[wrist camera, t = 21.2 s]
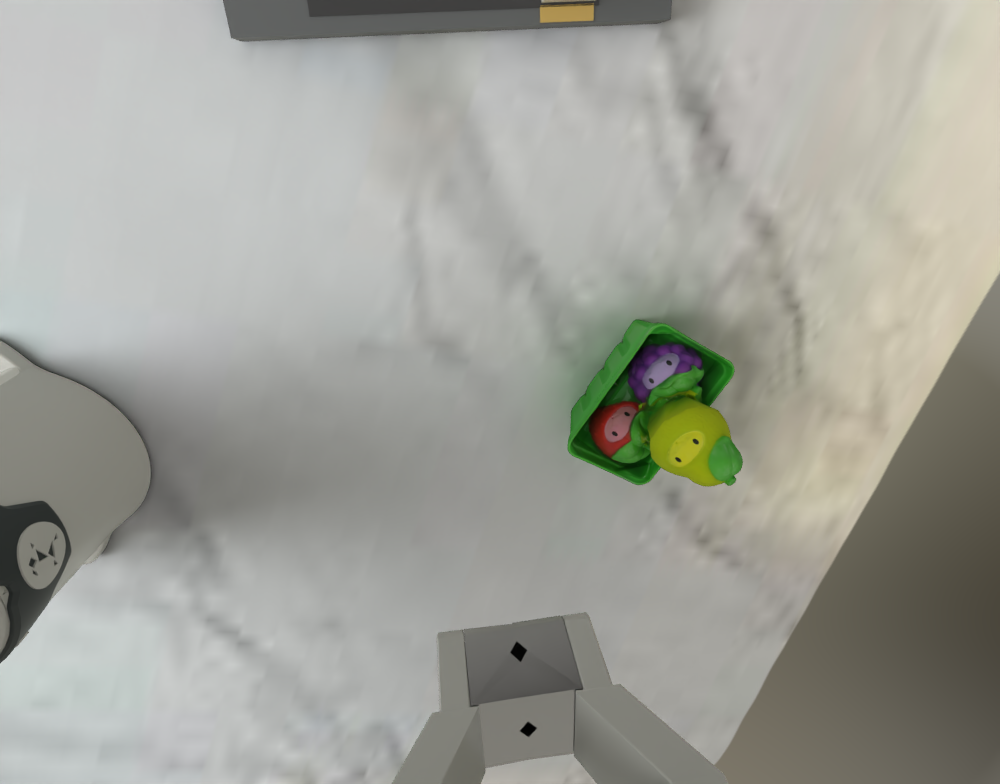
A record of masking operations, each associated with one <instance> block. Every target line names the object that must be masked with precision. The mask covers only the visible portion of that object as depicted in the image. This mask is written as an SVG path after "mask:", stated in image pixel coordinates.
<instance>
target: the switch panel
mask: <svg viewBox="0 0 1000 784" xmlns="http://www.w3.org/2000/svg"><path fill="white" fill-rule="evenodd" d="M223 3H224V7H225V11H226V16H227V20H228V25H229V29H230V34H231V38H233V39H236V40H239V41H261V40H285V39H308V38H331V37H355V36H378V35H401V34H425V33H448V32H471V31H495V30H518V29H542V28H565V27H588V26H612V25H635V24H657V23H661V22H664V21H667V20H670V19H671V6H672V0H596V1H574V2H548V3H541V0H223Z"/></svg>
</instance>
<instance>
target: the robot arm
mask: <svg viewBox="0 0 1000 784" xmlns="http://www.w3.org/2000/svg"><path fill="white" fill-rule="evenodd" d="M150 479H151V467H150V460H149V456H148V453H147V450H146V447H145V445H144V443H143V441H142V439H141V437H140V435H139V434H138V432H137V431H136V429H135V428H134V427H133V425H132V424H131V423H130V422H129V420H128V419H127V418H126V417H125V416H124V415H123V414H122V413H121V412H120V411H119V410H118V409H117V408H116V407H115V406H113V405H112V404H111V403H110V402H108V401H107V400H106V399H104V398H103V397H101V396H100V395H98V394H97V393H95V392H94V391H92V390H90V389H88V388H87V387H85V386H83V385H81V384H79V383H76V382H74V381H72V380H69V379H67V378H64V377H62V376H59V375H56V374H54V373H51V372H48V371H46V370H44V369H42V368H40V367H38V366H36V365H34V364H33V363H31V362H30V361H29V360H28V359H26V358H25V357H24V356H22V355H21V354H20V353H18V352H17V351H16V350H14V349H13V348H11V347H10V346H9V345H7V344H5V343H4V342H2V341H0V663H1V662H2V661H3V660H5V659H6V658H7V656H8V655H9V654H10V653H11V652H12V651H13V649H14V648H15V647H16V646H18V645H19V644H20V642H21V641H22V640H23V639H24V638H25V636H26V635H27V634H28V633H29V632H28V630H29V629H30V628H31V627H32V625H33V624H34V622H35V621H36V620H37V618H38V617H39V616H40V614H41V613H42V612H43V610H44V609H45V607H46V606H47V605H48V603H49V601H50V600H51V599H52V598H53V597H54V596H55V595H56V594H57V593H58V591H59V590H60V589H61V588H62V587H63V586H64V585H65V584H66V583H67V582H68V581H69V579H70V578H71V577H72V576H73V575H74V574H75V573H76V572H77V571H78V569H79V568H80V567H81V566H82V565H83V564H89V563H92V562H93V561H95V560H96V559H97V558H98V557H99V555H100V554H101V553H102V552H103V551H104V549H105V548H106V546H107V544H108V541H109V539H110V536H111V533H112V532H113V531H114V530H115V529H116V528H117V527H118V526H119V525H120V524H122V523H123V522H124V521H125V520H126V519H127V518H129V517H130V516H131V515H132V514H133V513H134V512H135V511H136V510H137V509H138V508H139V506H140V505H141V504H142V502H143V500H144V499H145V497H146V494H147V492H148V489H149V485H150ZM464 640H465V642H464ZM437 657H438V682H439V706H440V712H435V713H432V714H431V716H430V717H429V719H428V721H427V723H426V724H425V726H424V728H423V730H422V731H421V733H420V735H419V737H418V739H417V740H416V742H415V744H414V746H413V747H412V749H411V751H410V753H409V754H408V756H407V758H406V760H405V761H404V763H403V765H402V767H401V768H400V770H399V772H398V774H397V775H396V777H395V779H394V781H393V782H392V784H481V782H482V779H483V776H484V774H485V768H488V767H493V766H498V765H503V764H508V763H514V762H519V761H524V760H529V759H536V758H544V757H551V756H559V755H566V754H574V756H575V758H576V759H577V760H578V761H579V762H580V764H581V765H582V766H583V767H584V768H585V770H586V771H587V772H588V773H589V774H590V776H591V777H592V778H593V779H594V780H595V782H596V783H597V784H728V782H727V779H726V777H725V775H724V774H723V773H722V772H721V771H720V770H719V769H718V768H716V767H715V766H714V765H713V764H712V763H711V762H709V761H708V760H707V759H706V758H705V757H704V756H703V755H701V754H700V753H699V752H698V751H697V750H696V749H694V748H693V747H692V746H691V745H690V744H689V743H688V742H686V741H685V740H684V739H683V738H682V737H681V736H679V735H678V734H677V733H676V732H675V731H674V730H672V729H671V728H670V727H669V726H668V725H667V724H666V723H664V722H663V721H662V720H661V719H660V718H659V717H657V716H656V715H655V714H654V713H653V712H652V711H651V710H649V709H648V708H647V707H646V706H645V705H644V704H642V703H641V702H640V701H639V700H638V699H637V698H636V697H634V696H633V695H632V694H631V693H630V692H629V691H627V690H626V689H625V688H624V687H623V686H622V685H621V684H617V685H612V682H611V679H610V676H609V673H608V670H607V667H606V664H605V661H604V658H603V655H602V652H601V650H600V647H599V644H598V641H597V638H596V635H595V632H594V629H593V626H592V623H591V620H590V617H589V616H588V614H587V613H586V612H585V613H578V614H571V615H564V616H554V617H547V618H541V619H534V620H528V621H521V622H515V623H512V624H507V625H498V626H489V627H480V628H471V629H464V633H463V630H456V631H448V632H440V633H438V635H437Z"/></svg>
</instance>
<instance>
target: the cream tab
mask: <svg viewBox="0 0 1000 784" xmlns="http://www.w3.org/2000/svg"><path fill="white" fill-rule="evenodd" d="M574 1H596V0H541V3H548V2H574Z"/></svg>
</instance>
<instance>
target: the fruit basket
mask: <svg viewBox="0 0 1000 784" xmlns="http://www.w3.org/2000/svg"><path fill="white" fill-rule="evenodd" d="M733 374H734V366H733V364H732V363H731V362H730V361H729V360H727V359H725V358H723V357H721V356H720V355H718V354H716V353H715V352H713V351H711V350H709V349H708V348H706V347H704V346H702V345H701V344H699V343H697V342H696V341H694V340H692V339H691V338H689V337H687V336H685V335H684V334H682V333H681V332H679V331H677V330H676V329H674V328H672V327H671V326H669V325H667V324H663V323H650V322H645V321H641V320H635V321H633V323H632V324H631V326H630V327H629V328H628V330H627V331H626V333H625V334H624V337H623V341H622V342H621V343H619V344H618V345H617V346H616V347H615V349H614V350H613V351H612V353H611V354H610V356H609V357H608V359H607V360H606V362H605V365H604V369H601V370H600V371H599V372H598V373H597V374H596V376H595V377H594V379H593V380H592V382H591V383H590V384H589V386H588V388H587V391H586V394H584V395H583V396H582V397H581V398H580V399H579V400H578V402H577V403H576V404H575V406H574V407H573V409H572V411H571V431H570V436H569V440H568V451H569V453H570V454H571V455H572V456H574V457H576V458H579V459H581V460H584V461H586V462H588V463H590V464H593V465H595V466H597V467H599V468H601V469H604V470H606V471H608V472H610V473H612V474H614V475H616V476H618V477H621V478H623V479H625V480H627V481H629V482H631V483H633V484H636V485H643V484H646V483H648V482H649V481H651V479H652V478H653V477H654V475H655V474H656V473H657V472H658V470H659V469H660V468H663V469H664V470H666V471H668V472H670V473H673V474H675V475H679V476H683V477H687V478H689V479H690V480H692V481H693V482H695V483H697V484H699V485H702V486H715V485H719V484H722V483H726V484H727V485H728V486H731V485H732V484H734V483H735V481H736V478H735V477H734V475H735V474H737V473H738V472H739V471H740V470H741V468H742V463H743V461H742V456H741V454H740V452H739V451H738V449H737V448H736V447H735V445H734V444H733V442H732V440H731V436H730V431H729V428H728V425H727V423H726V421H725V419H724V418H723V416H722V415H721V413H720V412H719V411H718V410H716V409H714V408H712V407H710V405H711V404H712V403H713V401H714V400H715V399H716V398H717V396H718V395H719V394H720V392H721V391H722V390H723V388H724V387H725V386H726V385H727V384H728V382H729V381H730V379H731V378H732V376H733Z"/></svg>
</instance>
